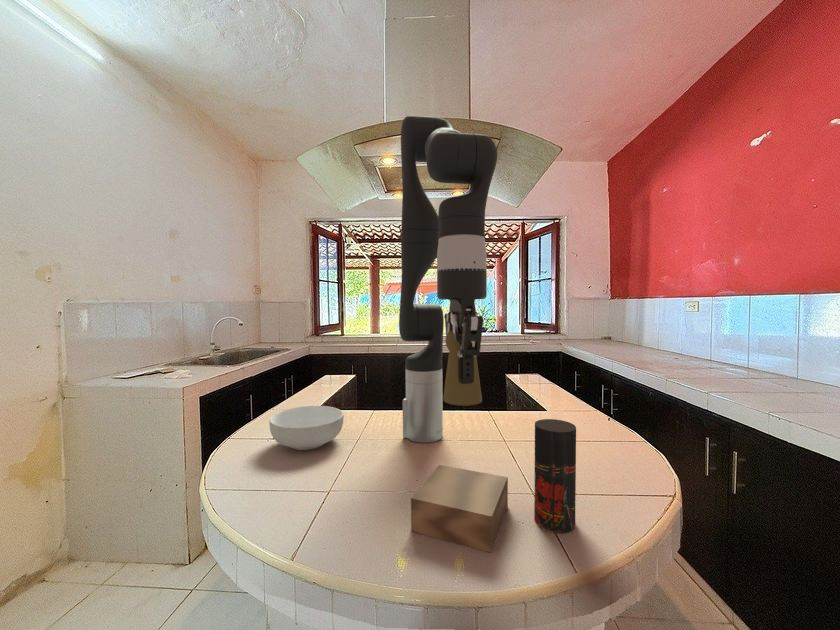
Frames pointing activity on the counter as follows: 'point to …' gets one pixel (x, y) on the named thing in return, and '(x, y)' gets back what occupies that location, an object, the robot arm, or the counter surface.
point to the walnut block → (461, 507)
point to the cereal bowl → (306, 426)
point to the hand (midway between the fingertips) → (461, 379)
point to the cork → (453, 388)
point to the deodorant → (555, 475)
